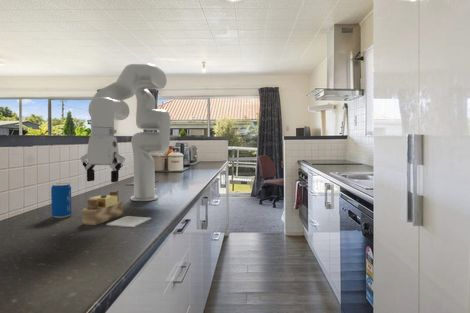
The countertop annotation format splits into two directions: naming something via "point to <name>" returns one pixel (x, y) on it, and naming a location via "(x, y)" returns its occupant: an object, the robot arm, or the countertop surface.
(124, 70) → the robot arm
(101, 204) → the lever cap
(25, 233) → the countertop surface
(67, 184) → the beverage can
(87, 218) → the plane body
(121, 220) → the mat
